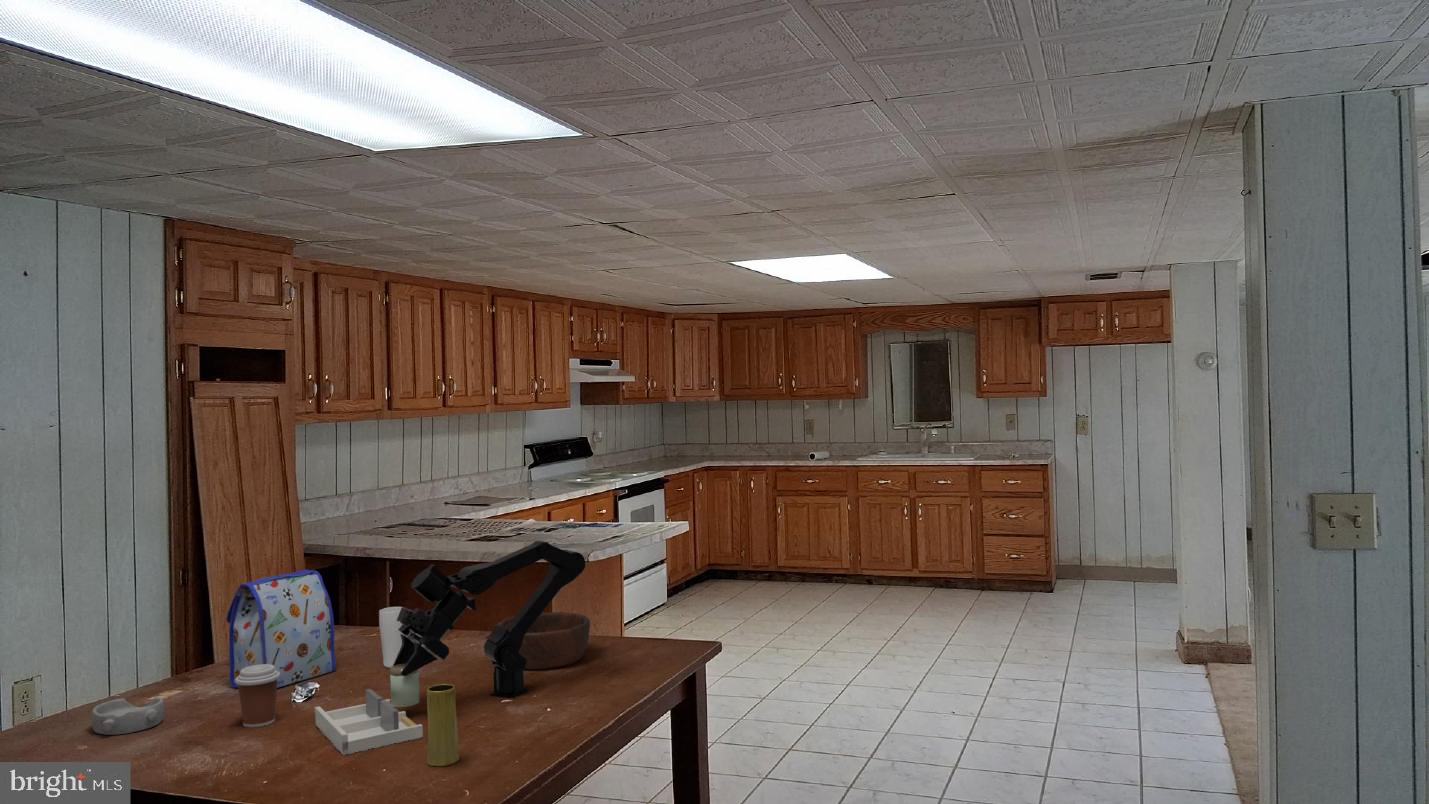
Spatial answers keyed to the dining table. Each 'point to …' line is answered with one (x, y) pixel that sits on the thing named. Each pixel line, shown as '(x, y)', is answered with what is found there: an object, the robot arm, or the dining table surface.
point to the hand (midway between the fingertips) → (398, 672)
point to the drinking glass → (390, 634)
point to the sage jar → (404, 687)
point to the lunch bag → (282, 627)
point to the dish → (126, 716)
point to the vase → (442, 725)
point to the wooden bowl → (554, 640)
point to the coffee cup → (258, 694)
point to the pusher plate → (372, 703)
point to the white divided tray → (366, 727)
